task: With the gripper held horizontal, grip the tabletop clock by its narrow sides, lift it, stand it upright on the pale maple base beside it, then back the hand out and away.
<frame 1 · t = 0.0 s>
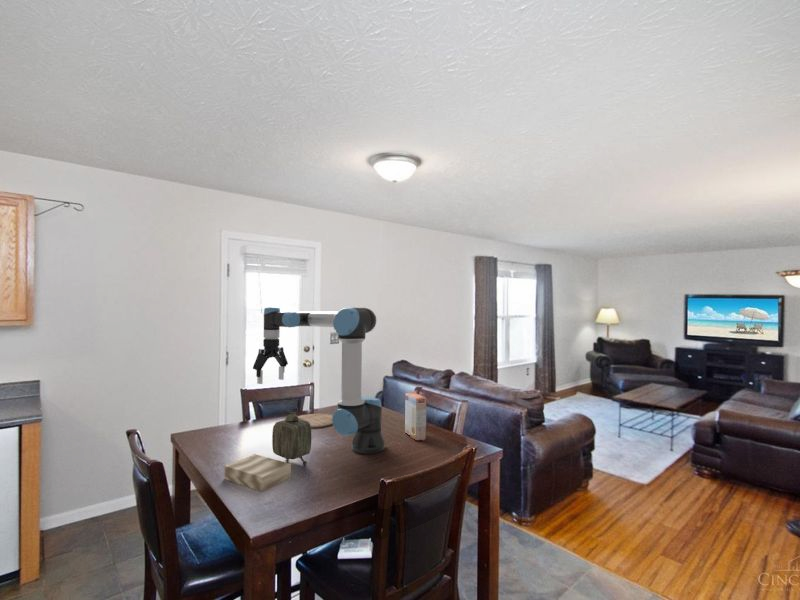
hand: (270, 381, 196), 28 cm above the table, tool pointing down, fingers open, 13 cm apart
trivet: (314, 423, 225), on the table
cracker box: (415, 437, 201), on the table
tabletop clock: (290, 464, 164), on the table
maple base: (257, 478, 150), on the table
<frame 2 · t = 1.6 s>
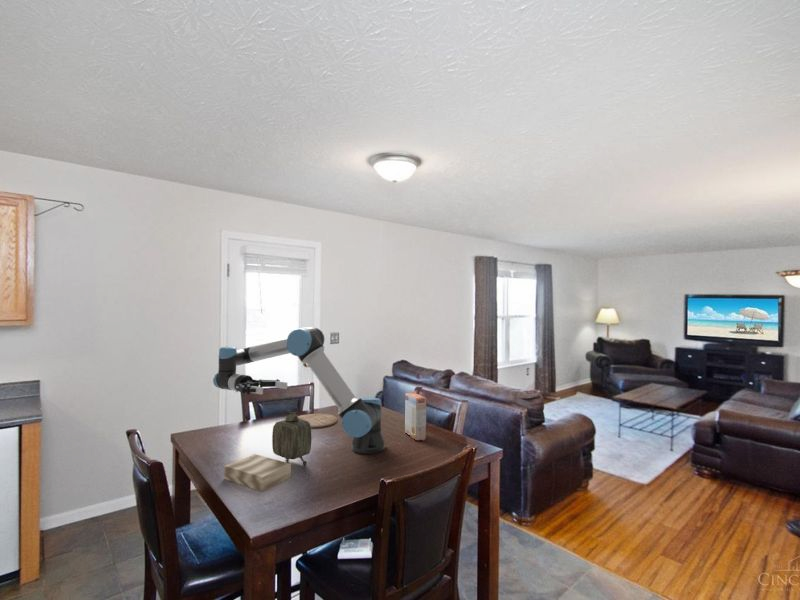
hand: (275, 388, 169), 30 cm above the table, tool horizontal, fingers open, 13 cm apart
nothing on the table moved.
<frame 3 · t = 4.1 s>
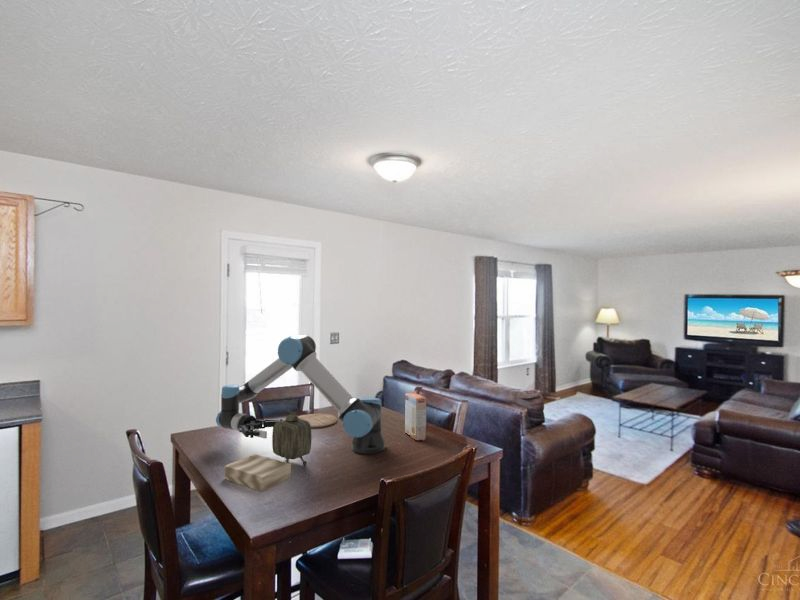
hand: (278, 430, 167), 13 cm above the table, tool horizontal, fingers open, 13 cm apart
nothing on the table moved.
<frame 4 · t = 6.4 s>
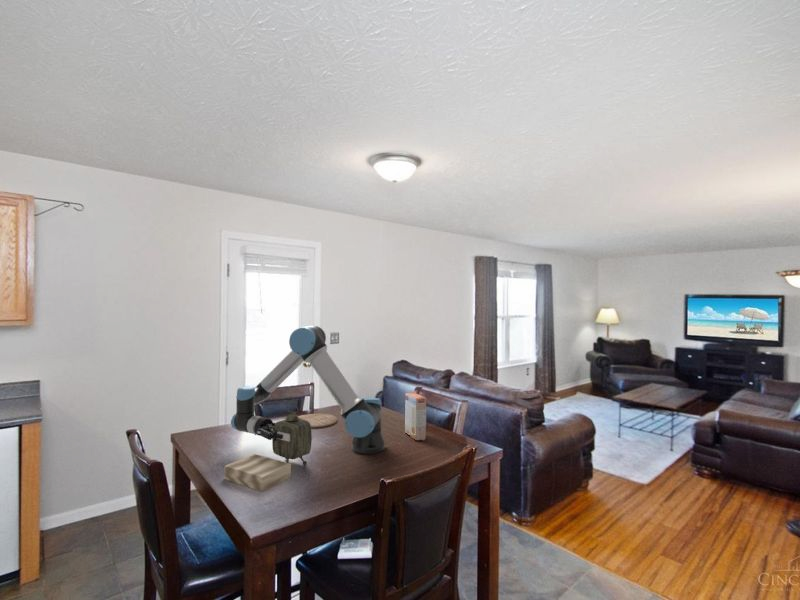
hand: (299, 434, 162), 13 cm above the table, tool horizontal, fingers closed on tabletop clock, 10 cm apart
tabletop clock: (290, 464, 164), on the table, touching gripper
everything else where it was.
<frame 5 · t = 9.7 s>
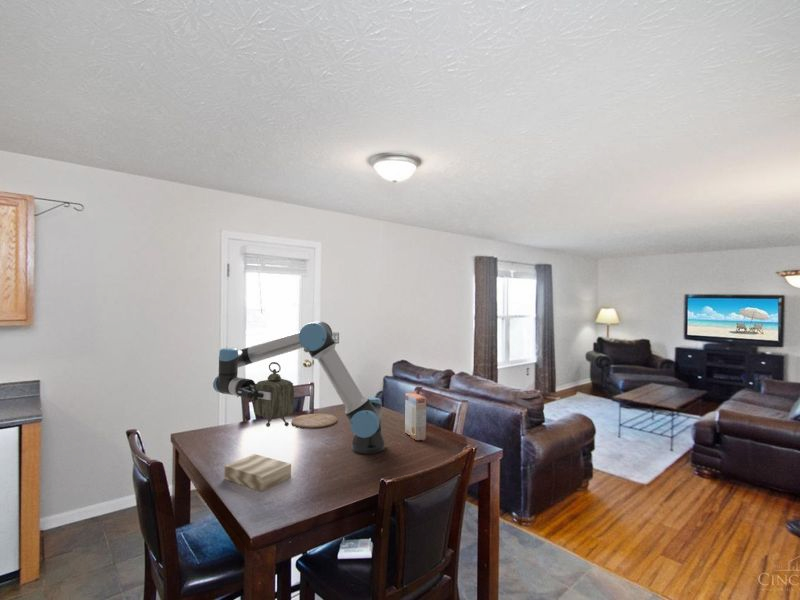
hand: (280, 394, 155), 31 cm above the table, tool horizontal, fingers closed on tabletop clock, 10 cm apart
tabletop clock: (272, 426, 157), point 17 cm above the table, touching gripper
everything else where it was.
when the fingers open (19 cm above the table, at t = 13.3 s): tabletop clock drops 1 cm, resting on maple base.
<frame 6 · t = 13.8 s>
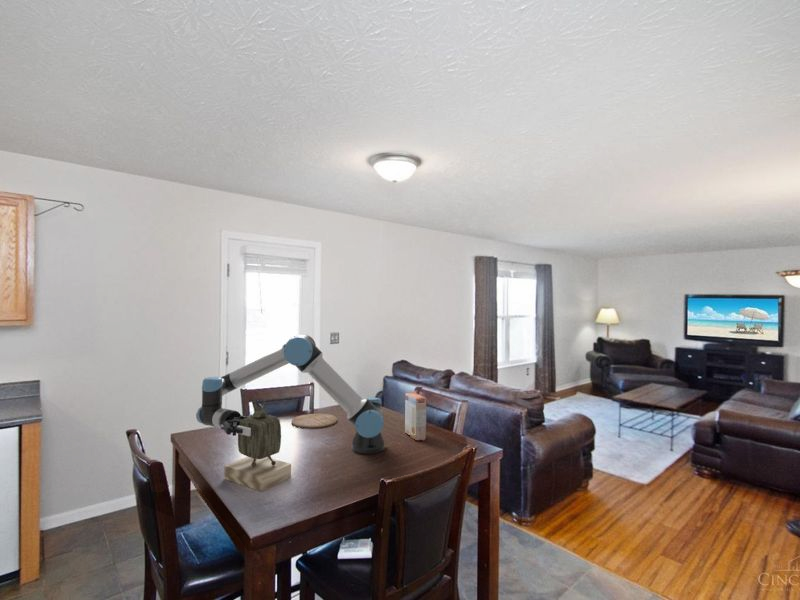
hand: (264, 427, 149), 20 cm above the table, tool horizontal, fingers open, 13 cm apart
tabletop clock: (258, 465, 150), point 5 cm above the table, touching maple base
everything else where it was.
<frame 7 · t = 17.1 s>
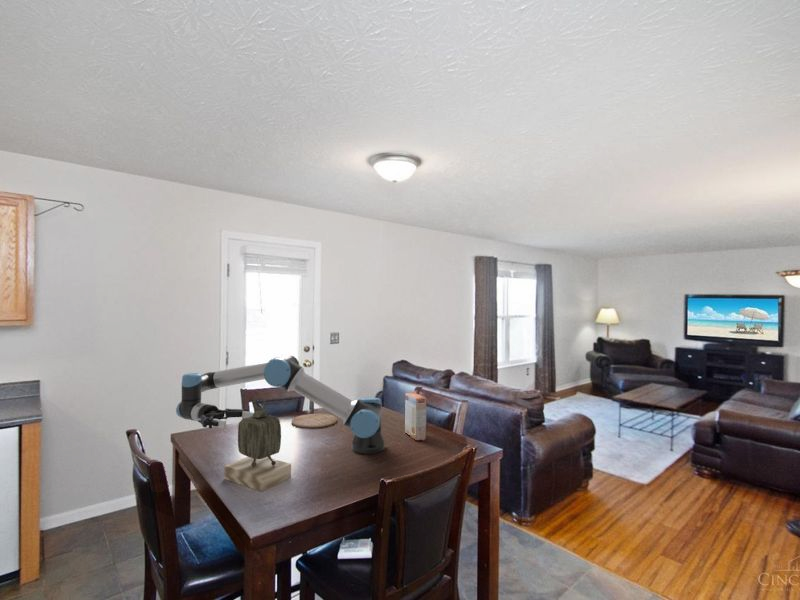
hand: (240, 420, 156), 20 cm above the table, tool horizontal, fingers open, 13 cm apart
nothing on the table moved.
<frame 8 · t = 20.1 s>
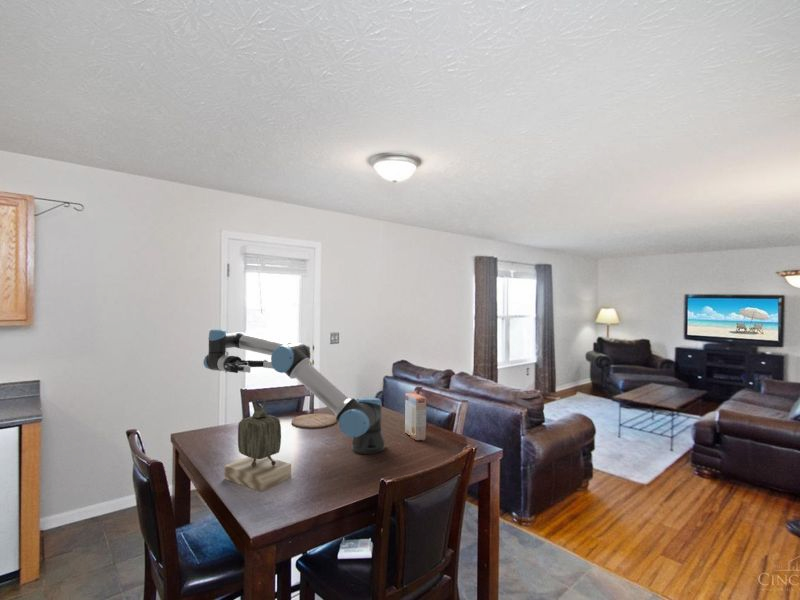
hand: (262, 367, 176), 38 cm above the table, tool horizontal, fingers open, 13 cm apart
nothing on the table moved.
at the end: tabletop clock inside the target area on the maple base (0.0 cm from its centre), point 4.8 cm above the maple base's base; tabletop clock tilted 0°; the gripper is holding nothing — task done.
